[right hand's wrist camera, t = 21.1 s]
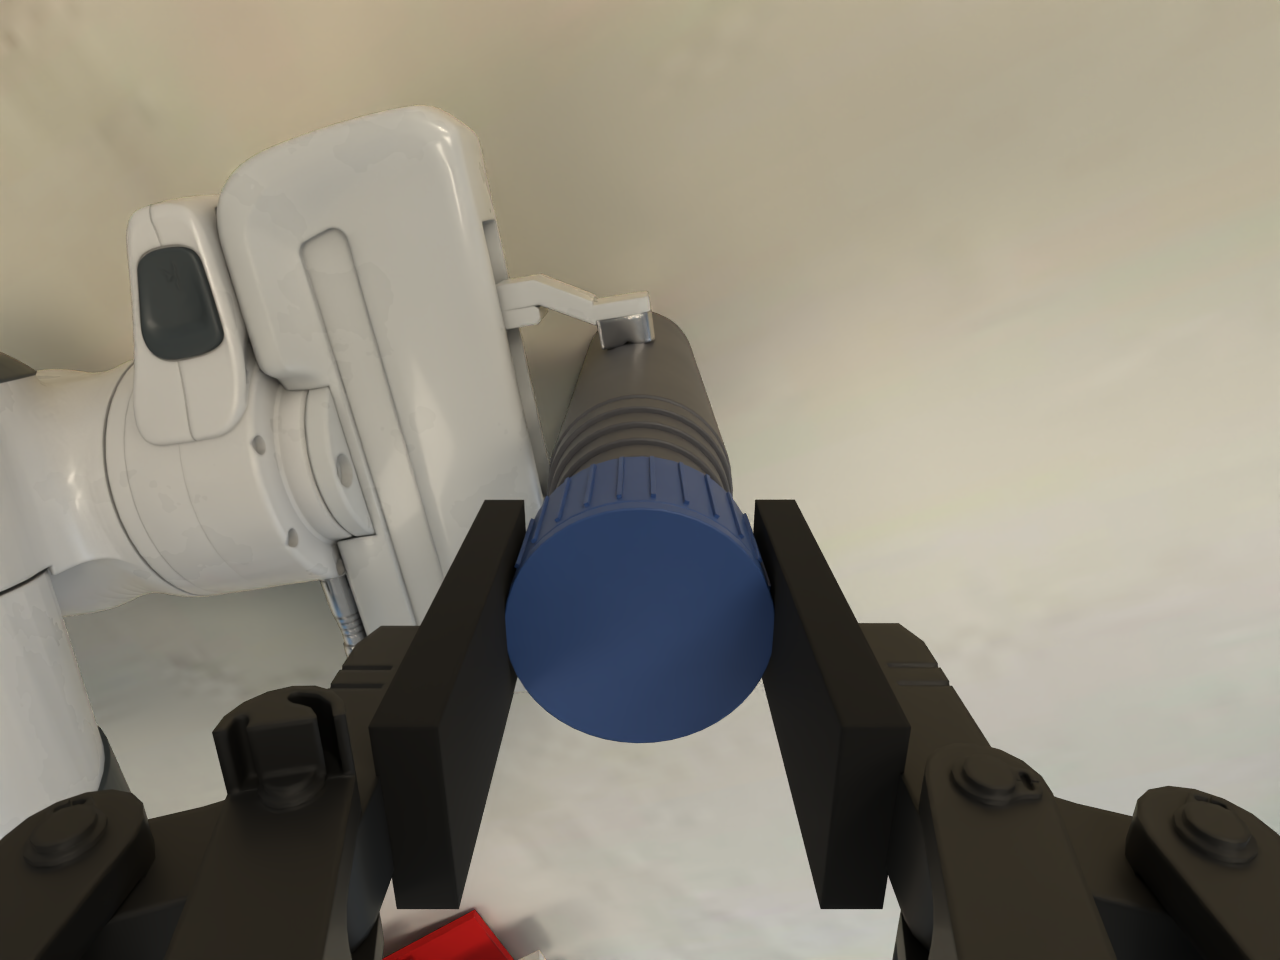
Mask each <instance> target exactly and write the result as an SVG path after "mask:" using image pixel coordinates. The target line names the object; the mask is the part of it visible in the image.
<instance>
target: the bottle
mask: <svg viewBox="0 0 1280 960" xmlns="http://www.w3.org/2000/svg"><path fill="white" fill-rule="evenodd" d="M652 319H653V327H654V334H655V340H653V341H650V342H647V343H642V344H633V343H631V342H629V341H627V342H626V343H625V344H624V345H623V346H620V347H617V348H610V349H604V350H602V348H601V343H600V338H599V333H598V331H597V333H596V334H595V336H594V337H593V339H592V341H591V343H590V346H589V349H588V352H587V354H586V357H585V360H584V363H583V366H582V369H581V372H580V375H579V378H578V381H577V384H576V387H575V390H574V392H573V395H572V398H571V401H570V404H569V407H568V410H567V413H566V416H565V419H564V422H563V425H562V428H561V431H560V433H559V436H558V439H557V442H556V445H555V448H554V451H553V454H552V457H551V462H550V466H549V475H548V484H547V496H548V497H549V496H550V495H551V494H552V493H553V492H554V491H555V489H556V488H558V487H559V486H560V485H561V484H562V483H564V481H565V479H566V478H567V477H569V478H570V477H572V476H574V475H575V474H577V473H578V472H580V471H582V470H584V469H586V468H588V467H590V465H592V464H598V463H602V462H605V461H608V460H612V459H618V458H619V457H640V456H643V457H649V456H654V457H656V458H662V459H667V460H671V461H675V462H678V463H679V462H682V463H683V464H684V465H687V466H689V467H691V468H693V469H695V470H697V471H699V472H701V473H703V474H705V475H706V474H708V475H709V476H710V478H711V479H712V480H714V481H715V482H716V483H717V484H718V485H719V486H721V487H722V488H723V489H724V490H725V491H726V492H728V491H729V492H730V493H731V494H732V496H733V487H732V478H731V467H730V463H729V458H728V455H727V452H726V449H725V446H724V443H723V440H722V437H721V434H720V431H719V428H718V425H717V422H716V419H715V417H714V414H713V411H712V408H711V405H710V402H709V399H708V396H707V393H706V390H705V387H704V384H703V381H702V378H701V375H700V373H699V370H698V367H697V364H696V361H695V358H694V355H693V352H692V349H691V346H690V344H689V341H688V340H687V338H686V336H685V334H684V333H683V332H682V330H681V329H680V328H679V327H678V326H677V325H676V324H675V323H673V322H672V321H671V320H669V319H668V318H666V317H664V316H662V315H660V314H657V313H653V312H652Z"/></svg>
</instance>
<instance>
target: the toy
mask: <svg viewBox="0 0 1280 960" xmlns="http://www.w3.org/2000/svg"><path fill="white" fill-rule="evenodd" d="M382 960H514V959H513V958H512V956H511V955H510V954H509V953H508V951H507V950H506V949H505V947H504V946H503V945H502V944H501V942H500V941H499V940H498V939H497V937H496V936H495V935H494V933H493V932H492V931H491V930H490V928H489V927H488V926H487V924H486V923H485V922H484V921H483V919H482V918H481V917H480V916H479V914H478V913H477V912H476V910H473V911H471V912H469V913H467V914H466V915H464V916H462V917H460V918H458V919H456V920H454V921H452V922H451V923H449V924H447V925H445V926H443V927H441V928H439V929H437V930H436V931H434V932H432V933H430V934H428V935H426V936H424V937H423V938H421V939H419V940H417V941H415V942H413V943H411V944H409V945H408V946H406V947H404V948H402V949H400V950H398V951H396V952H394V953H393V954H391V955H389V956H387V957H385V958H383V959H382ZM519 960H546V959H545V957H544V956H543V954H542V953H541V952H540V950H538V951H536V952H534V953H532V954H529V955H527V956H525V957H523V958H521V959H519Z"/></svg>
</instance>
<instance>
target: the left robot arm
mask: <svg viewBox="0 0 1280 960" xmlns="http://www.w3.org/2000/svg"><path fill="white" fill-rule="evenodd" d="M126 241H127V256H128V267H129V277H130V289H131V302H132V317H133V338H134V359H131V360H129V361H127V362H125V363H123V364H121V365H119V366H117V367H115V368H113V369H110V370H107V371H103V372H92V373H90V372H83V371H76V370H66V369H46V370H38V371H35V370H34V369H32V368H30V367H29V366H27V365H26V364H24V363H22V362H20V361H18V360H17V359H14V358H12V357H10V356H8V355H6V354H4V353H2V352H0V840H1V839H2V838H3V837H4V836H5V835H6V834H8V833H9V832H10V831H12V830H13V829H14V828H15V827H17V826H18V825H19V824H20V823H22V822H23V821H24V820H25V819H27V818H28V817H30V816H32V815H33V814H35V813H37V812H39V811H41V810H43V809H45V808H47V807H48V806H50V805H52V804H54V803H56V802H58V801H61V800H64V799H67V798H70V797H73V796H76V795H79V794H82V793H85V792H93V791H101V790H109V789H114V790H119V791H125V792H130V793H131V791H130V789H129V787H128V785H127V782H126V780H125V778H124V776H123V773H122V771H121V769H120V767H119V764H118V762H117V760H116V757H115V755H114V753H113V751H112V748H111V746H110V744H109V742H108V739H107V737H106V736H105V734H104V733H103V731H102V729H101V728H100V727H99V726H97V724H96V720H95V717H94V714H93V711H92V708H91V705H90V702H89V698H88V695H87V692H86V689H85V686H84V683H83V680H82V676H81V673H80V670H79V667H78V664H77V661H76V657H75V654H74V651H73V648H72V645H71V642H70V639H69V635H68V632H67V629H66V626H65V623H64V620H63V617H68V616H75V615H82V614H90V613H95V612H100V611H104V610H108V609H112V608H115V607H118V606H120V605H123V604H125V603H127V602H130V601H132V600H134V599H136V598H138V597H140V596H142V595H146V594H150V593H163V594H169V595H176V596H183V597H206V596H214V595H221V594H228V593H235V592H242V591H248V590H255V589H262V588H269V587H276V586H281V585H288V584H295V583H302V582H309V581H316V580H320V582H321V585H322V588H323V591H324V594H325V596H326V599H327V602H328V605H329V607H330V610H331V612H332V614H333V616H334V618H335V620H336V622H337V624H338V626H339V628H340V630H341V633H342V636H343V639H344V643H343V644H344V649H345V653H346V656H347V658H348V656H349V654H350V653H351V651H352V650H353V648H354V647H355V645H356V644H357V643H358V642H360V641H361V640H362V639H364V638H365V637H366V636H368V635H369V634H370V633H372V632H373V631H374V630H376V629H377V628H379V627H380V626H420V625H421V623H422V621H423V619H424V617H425V615H426V613H427V611H428V609H429V607H430V605H431V603H432V601H433V600H434V598H435V596H436V594H437V592H438V590H439V588H440V586H441V584H442V582H443V580H444V578H445V576H446V574H447V572H448V570H449V568H450V566H451V564H452V562H453V561H454V559H455V557H456V555H457V553H458V551H459V549H460V547H461V545H462V543H463V541H464V539H465V537H466V535H467V533H468V531H469V529H470V527H471V525H472V524H473V522H474V520H475V518H476V516H477V514H478V512H479V510H480V508H481V506H482V504H483V502H484V500H524V506H525V522H526V531H527V528H528V525H529V522H530V520H531V518H532V519H534V518H535V516H536V514H537V513H538V511H539V509H540V508H541V506H542V504H543V501H544V498H545V497H546V496H547V484H548V475H549V466H550V464H549V459H548V455H547V450H546V445H545V441H544V436H543V432H542V427H541V422H540V418H539V413H538V408H537V404H536V399H535V395H534V390H533V385H532V381H531V376H530V371H529V367H528V362H527V358H526V353H525V348H524V344H523V339H522V334H521V330H520V327H525V326H531V325H536V324H539V322H540V321H541V320H542V319H543V317H544V316H545V315H546V313H547V312H548V308H549V309H551V310H554V311H557V312H560V313H563V314H565V315H568V316H571V317H574V318H576V319H579V320H582V321H585V322H587V323H590V324H593V325H596V324H597V328H598V333H599V338H600V343H601V348H602V350H604V349H610V348H617V347H620V346H623V345H624V344H625V343H626V342H627V341H629V342H631V343H633V344H642V343H647V342H650V341H653V340H655V334H654V327H653V319H652V312H651V306H650V299H649V293H648V291H639V292H632V293H626V294H620V295H614V296H608V297H602V298H596V295H595V294H592V293H590V292H587V291H585V290H582V289H580V288H577V287H574V286H572V285H569V284H567V283H564V282H562V281H559V280H557V279H554V278H552V277H549V276H546V275H544V274H536V275H530V276H523V277H517V278H511V279H509V274H508V270H507V265H506V260H505V256H504V251H503V246H502V242H501V237H500V233H499V228H498V223H497V219H496V214H495V209H494V205H493V200H492V196H491V191H490V186H489V182H488V177H487V172H486V168H485V163H484V158H483V154H482V149H481V145H480V141H479V138H478V136H477V135H476V133H475V132H474V131H473V130H472V129H471V128H469V127H468V126H467V125H465V124H464V123H462V122H461V121H460V120H458V119H457V118H456V117H454V116H452V115H451V114H449V113H447V112H446V111H444V110H442V109H439V108H436V107H432V106H427V105H413V106H406V107H400V108H394V109H389V110H385V111H381V112H376V113H372V114H368V115H364V116H360V117H357V118H353V119H350V120H346V121H343V122H339V123H336V124H332V125H329V126H326V127H323V128H320V129H317V130H314V131H311V132H308V133H305V134H303V135H300V136H297V137H295V138H292V139H289V140H287V141H284V142H282V143H279V144H277V145H274V146H272V147H269V148H267V149H265V150H263V151H261V152H259V153H257V154H255V155H254V156H252V157H250V158H249V159H247V160H246V161H245V162H243V163H242V164H241V165H239V166H238V167H237V168H236V169H235V170H234V171H233V173H232V174H231V175H230V176H229V178H228V179H227V180H226V182H225V184H224V186H223V188H222V190H221V193H220V194H212V195H196V196H188V197H182V198H176V199H171V200H166V201H162V202H158V203H155V204H151V205H148V206H145V207H142V208H140V209H138V210H136V211H135V212H134V213H133V214H132V215H131V217H130V219H129V221H128V226H127V234H126ZM523 692H528V691H527V690H526V689H525V688H524V686H523V685H522V683H521V681H520V680H519V678H517V682H516V686H515V690H514V693H523Z"/></svg>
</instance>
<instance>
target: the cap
mask: <svg viewBox="0 0 1280 960" xmlns="http://www.w3.org/2000/svg"><path fill="white" fill-rule="evenodd" d="M514 567H515V568H517V569H516V572H515V575H514V578H513V581H512V584H511V587H510V590H509V595H508V598H507V601H506V607H505V623H506V637H507V650H508V655H509V659H510V662H511V664H512V666H513V668H514V671H515V673H516V675H517V677H518V678H519V680H520V681H521V683H522V685H523V686H524V688H525V689H526V690H527V691H528V693H529V694H530V695H531V696H532V697H533V699H534V700H535V701H536V702H537V703H538V704H539V705H540V706H542V707H543V708H544V709H545V710H546V711H547V712H548V713H550V714H551V715H553V716H554V717H555V718H557V719H558V720H560V721H561V722H563V723H565V724H567V725H569V726H570V727H572V728H574V729H577V730H579V731H581V732H584V733H586V734H589V735H592V736H595V737H599V738H602V739H607V740H612V741H618V742H628V743H653V742H661V741H668V740H673V739H677V738H681V737H684V736H688V735H690V734H693V733H696V732H698V731H701V730H703V729H705V728H707V727H709V726H711V725H713V724H715V723H717V722H718V721H720V720H721V719H723V718H724V717H726V716H727V715H729V714H730V713H731V712H732V711H733V710H735V709H736V708H737V707H738V706H739V705H740V704H741V703H742V702H743V701H744V700H745V699H746V698H747V697H748V696H749V695H750V694H751V692H752V691H753V690H754V688H755V687H756V685H757V684H758V682H759V681H760V679H761V678H762V676H763V674H764V672H765V670H766V668H767V666H768V663H769V660H770V657H771V654H772V643H773V630H774V614H775V609H774V602H773V599H772V596H771V592H770V590H771V584H770V581H769V578H768V575H767V572H766V569H765V566H764V563H763V560H762V557H761V554H760V551H759V548H758V545H757V542H756V539H755V538H754V535H753V532H752V529H751V526H750V523H749V520H748V517H747V515H746V513H745V514H743V513H742V512H741V510H740V509H739V507H738V506H737V504H736V502H735V501H734V500H733V498H732V494H731V493H730V492H729V491H728V492H726V491H725V490H724V489H723V488H722V487H721V486H719V485H718V484H717V483H716V482H715V481H714V480H712V479H711V478H710V476H709V475H708V474H706V475H705V474H703V473H701V472H699V471H697V470H695V469H693V468H691V467H689V466H687V465H684V464H683V463H682V462H679V463H678V462H675V461H671V460H667V459H662V458H656V457H654V456H649V457H643V456H640V457H619V458H618V459H612V460H608V461H605V462H602V463H598V464H592V465H590V467H588V468H586V469H584V470H582V471H580V472H578V473H577V474H575V475H574V476H572V477H570V478H569V477H567V478H566V479H565V481H564V483H562V484H561V485H560V486H559V487H558V488H556V489H555V491H554V492H553V493H552V494H551V495H550V496H549V497H548V496H546V497H545V498H544V501H543V504H542V506H541V508H540V509H539V511H538V513H537V514H536V516H535V518H534V519H532V518H531V520H530V522H529V525H528V528H527V531H526V534H525V537H524V540H523V543H522V546H521V549H520V552H519V555H518V558H517V560H516V563H515V566H514Z"/></svg>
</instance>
